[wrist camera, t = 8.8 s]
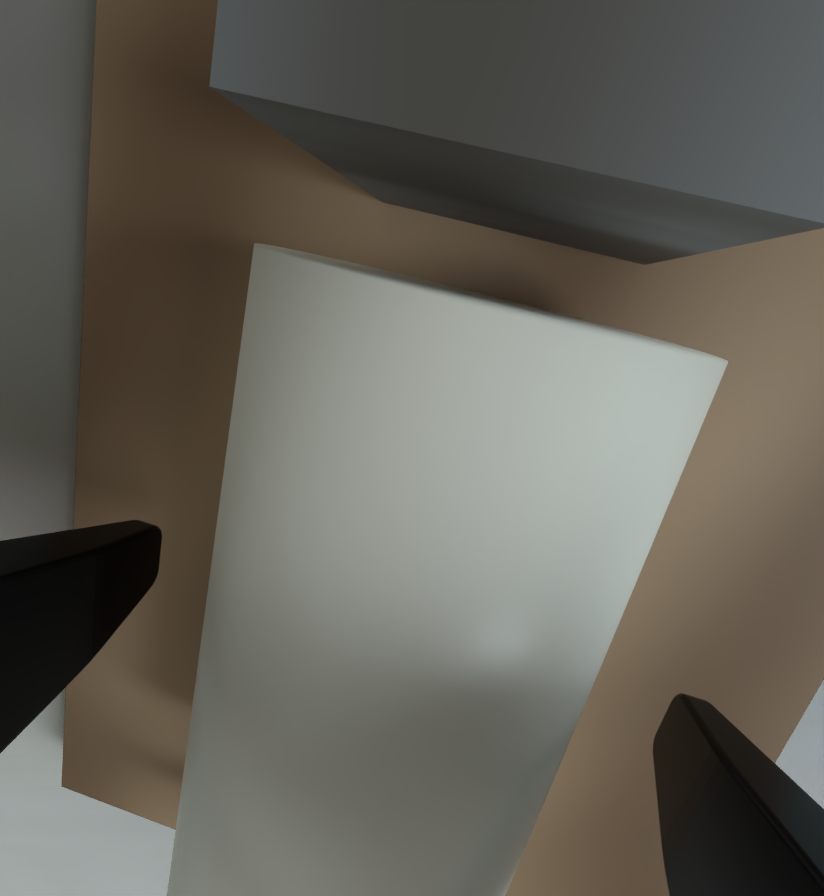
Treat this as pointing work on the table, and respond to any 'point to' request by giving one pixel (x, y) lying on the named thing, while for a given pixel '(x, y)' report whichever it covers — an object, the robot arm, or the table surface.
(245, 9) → the roll holder
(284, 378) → the cylinder
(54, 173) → the table surface
